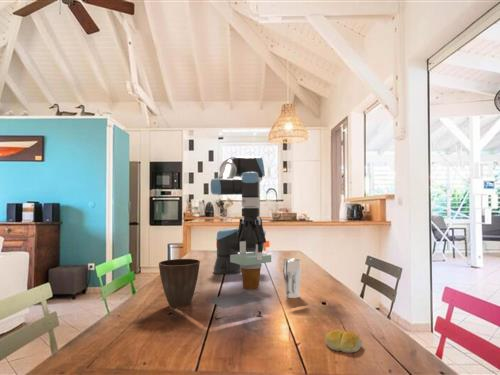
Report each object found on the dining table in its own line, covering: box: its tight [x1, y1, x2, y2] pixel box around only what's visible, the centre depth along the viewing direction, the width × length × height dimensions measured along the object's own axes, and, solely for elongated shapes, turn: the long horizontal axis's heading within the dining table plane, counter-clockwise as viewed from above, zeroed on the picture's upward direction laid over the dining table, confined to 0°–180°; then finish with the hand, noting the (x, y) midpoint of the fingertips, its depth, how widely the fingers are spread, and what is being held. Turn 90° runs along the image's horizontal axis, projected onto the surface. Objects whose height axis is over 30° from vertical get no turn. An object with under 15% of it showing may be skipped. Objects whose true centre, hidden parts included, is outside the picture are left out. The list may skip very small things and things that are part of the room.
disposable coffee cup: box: [240, 263, 263, 291], centre depth 149 cm, size 10×10×12 cm
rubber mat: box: [205, 291, 266, 309], centre depth 131 cm, size 14×18×1 cm
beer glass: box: [282, 257, 302, 299], centre depth 136 cm, size 7×7×15 cm
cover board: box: [230, 252, 272, 266], centre depth 149 cm, size 11×14×3 cm
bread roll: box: [325, 329, 363, 354], centre depth 90 cm, size 8×9×4 cm
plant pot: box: [158, 258, 201, 309], centre depth 127 cm, size 15×15×16 cm
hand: (250, 257), depth 149 cm, fingers open, 12 cm apart
